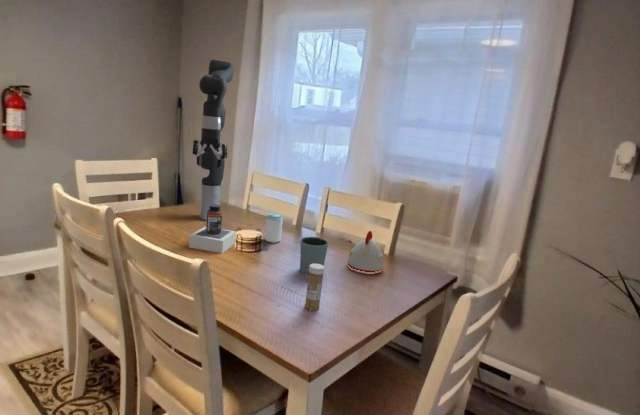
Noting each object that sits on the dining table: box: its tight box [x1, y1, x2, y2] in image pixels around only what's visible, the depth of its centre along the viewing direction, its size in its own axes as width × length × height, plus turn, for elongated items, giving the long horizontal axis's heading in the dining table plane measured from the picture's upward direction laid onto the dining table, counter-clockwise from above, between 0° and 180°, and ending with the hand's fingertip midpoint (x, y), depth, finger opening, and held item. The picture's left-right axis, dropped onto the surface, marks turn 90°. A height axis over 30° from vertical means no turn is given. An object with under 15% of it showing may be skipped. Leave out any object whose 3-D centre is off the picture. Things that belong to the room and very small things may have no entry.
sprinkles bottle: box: [304, 264, 325, 311], centre depth 125 cm, size 5×5×13 cm
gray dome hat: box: [347, 230, 384, 272], centre depth 163 cm, size 14×14×15 cm
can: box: [264, 212, 284, 244], centre depth 183 cm, size 7×7×12 cm
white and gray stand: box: [188, 226, 237, 254], centre depth 170 cm, size 14×14×5 cm
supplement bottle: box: [205, 204, 223, 234], centre depth 168 cm, size 6×6×11 cm
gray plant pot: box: [299, 236, 329, 276], centre depth 153 cm, size 10×10×12 cm
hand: (209, 166), depth 174 cm, fingers open, 8 cm apart
